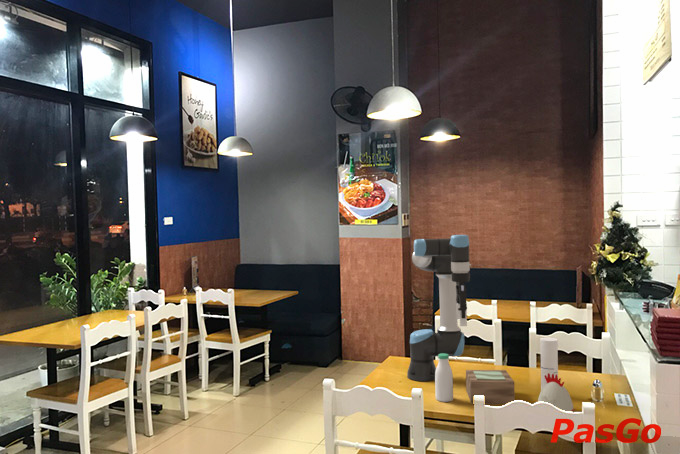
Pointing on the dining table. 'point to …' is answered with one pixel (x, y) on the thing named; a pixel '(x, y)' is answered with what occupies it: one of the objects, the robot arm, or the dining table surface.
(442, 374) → the milk bottle
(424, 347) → the robot arm
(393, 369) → the dining table surface
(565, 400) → the kitchen timer
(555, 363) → the cylindrical container
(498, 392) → the walnut stand
